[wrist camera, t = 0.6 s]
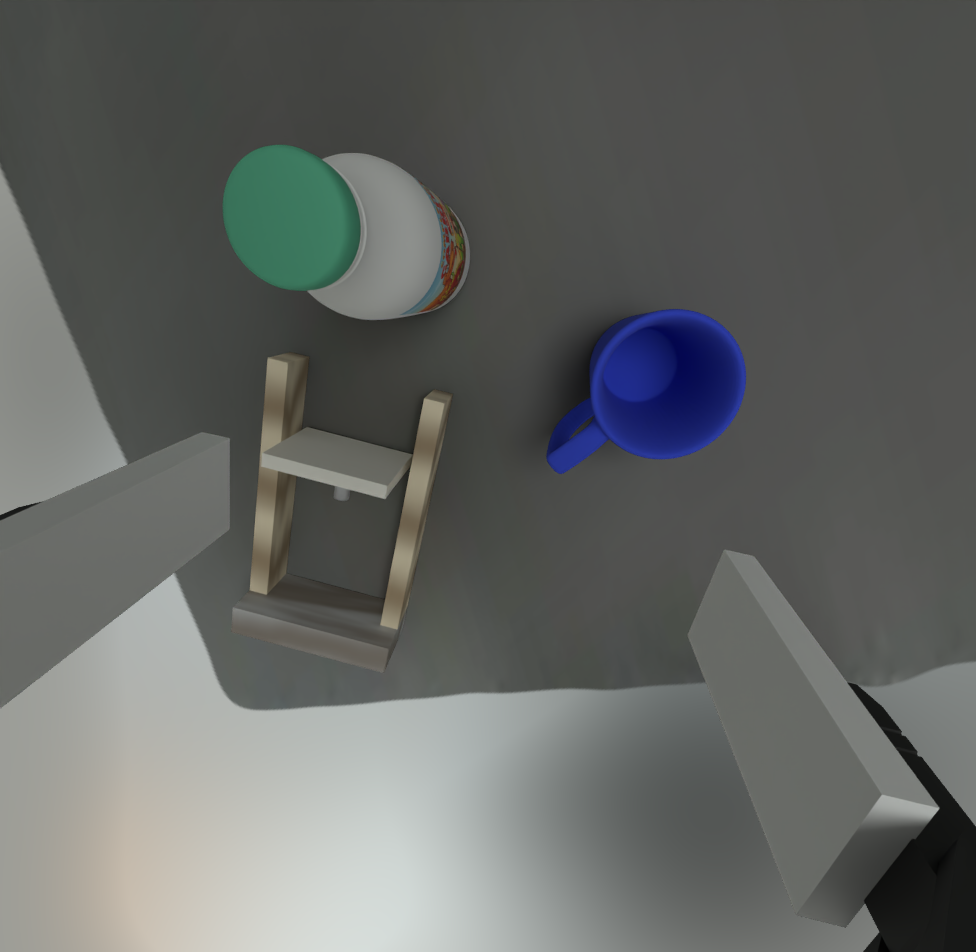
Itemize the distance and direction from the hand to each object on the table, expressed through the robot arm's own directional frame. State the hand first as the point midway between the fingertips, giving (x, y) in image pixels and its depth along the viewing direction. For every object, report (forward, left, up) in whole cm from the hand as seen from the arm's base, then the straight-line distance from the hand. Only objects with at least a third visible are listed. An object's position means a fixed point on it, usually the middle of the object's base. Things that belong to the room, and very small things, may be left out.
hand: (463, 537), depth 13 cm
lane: (+14, -11, -26) cm, 32 cm away
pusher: (+10, -11, -26) cm, 30 cm away
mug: (-2, +7, -27) cm, 28 cm away
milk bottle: (-7, -9, -27) cm, 29 cm away
